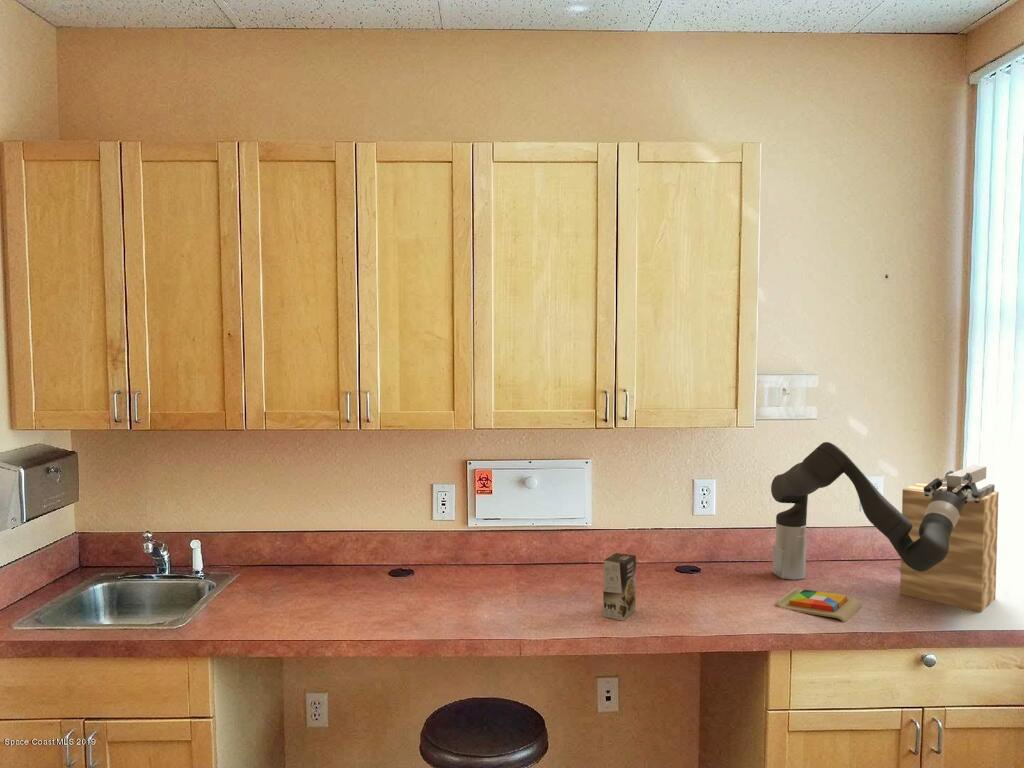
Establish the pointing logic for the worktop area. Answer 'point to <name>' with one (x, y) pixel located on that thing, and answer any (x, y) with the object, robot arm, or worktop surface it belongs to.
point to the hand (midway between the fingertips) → (960, 474)
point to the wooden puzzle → (820, 603)
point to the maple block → (956, 553)
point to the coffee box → (619, 586)
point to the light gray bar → (958, 476)
